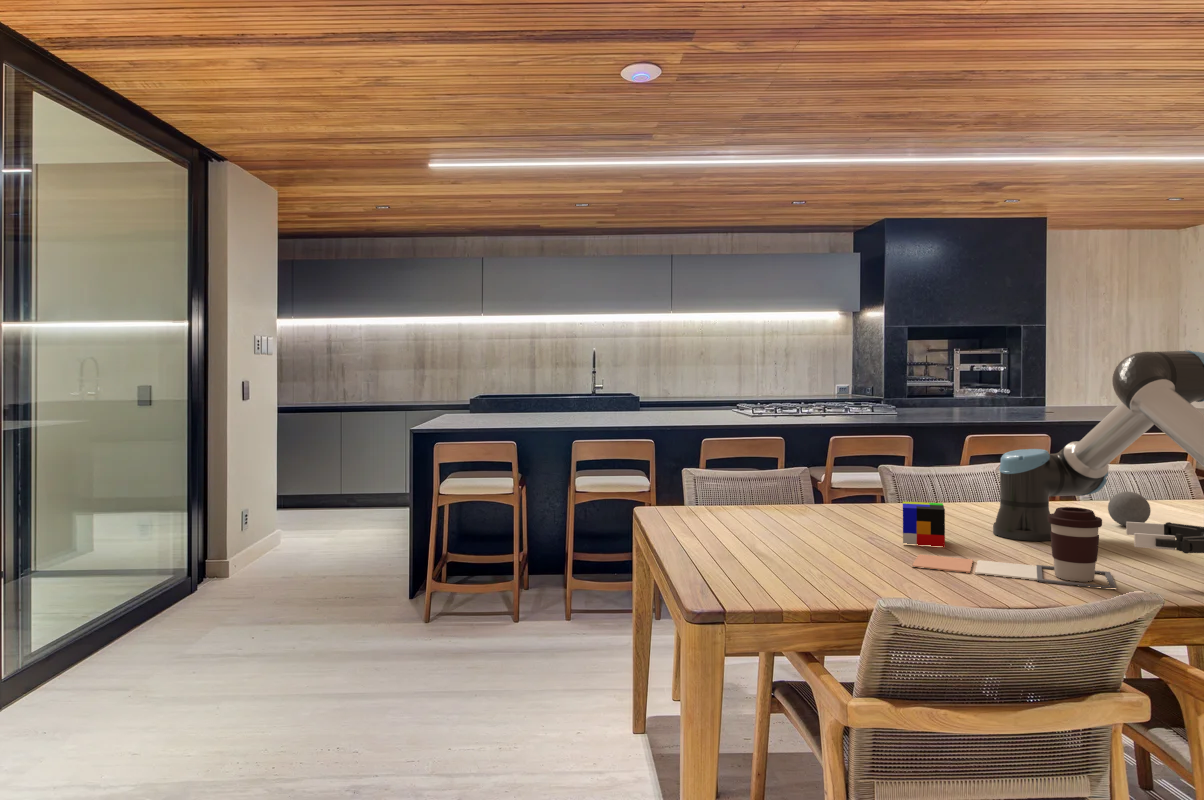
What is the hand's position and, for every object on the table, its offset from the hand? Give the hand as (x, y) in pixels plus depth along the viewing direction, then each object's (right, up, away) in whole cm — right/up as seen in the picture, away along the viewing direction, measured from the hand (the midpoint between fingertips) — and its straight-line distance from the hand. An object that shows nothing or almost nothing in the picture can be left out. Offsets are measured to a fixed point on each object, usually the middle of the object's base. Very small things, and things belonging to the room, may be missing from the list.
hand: (1130, 533), depth 155 cm
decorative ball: (+41, -8, +57) cm, 71 cm away
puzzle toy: (-26, -10, +41) cm, 50 cm away
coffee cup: (-8, -11, +5) cm, 15 cm away
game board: (-20, -11, +12) cm, 25 cm away
